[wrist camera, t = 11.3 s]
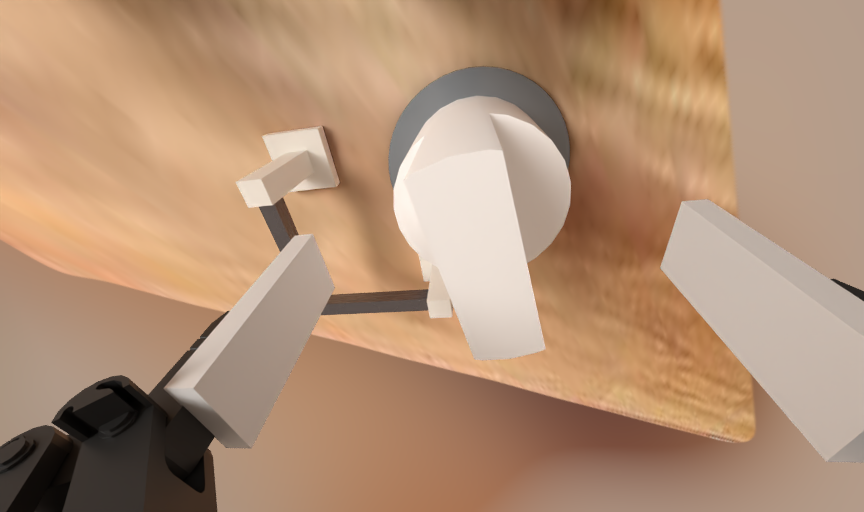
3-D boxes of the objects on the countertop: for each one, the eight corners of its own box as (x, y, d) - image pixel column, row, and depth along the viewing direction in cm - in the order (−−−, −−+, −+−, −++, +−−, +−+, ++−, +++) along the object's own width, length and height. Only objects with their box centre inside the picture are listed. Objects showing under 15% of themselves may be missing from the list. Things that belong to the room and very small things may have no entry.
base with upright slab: (389, 124, 20) (314, 199, 10) (533, 71, 18) (620, 101, 8) (434, 240, 24) (413, 372, 15) (553, 210, 22) (625, 342, 12)
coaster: (371, 83, 19) (369, 83, 19) (576, 50, 18) (579, 50, 17) (407, 247, 26) (406, 251, 25) (560, 235, 24) (562, 239, 23)
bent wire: (261, 184, 18) (251, 191, 17) (420, 166, 17) (417, 172, 16) (316, 306, 23) (310, 315, 23) (442, 299, 22) (441, 309, 21)
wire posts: (254, 165, 23) (190, 200, 18) (283, 97, 20) (216, 114, 15) (450, 292, 28) (446, 350, 23) (494, 251, 25) (502, 306, 20)
